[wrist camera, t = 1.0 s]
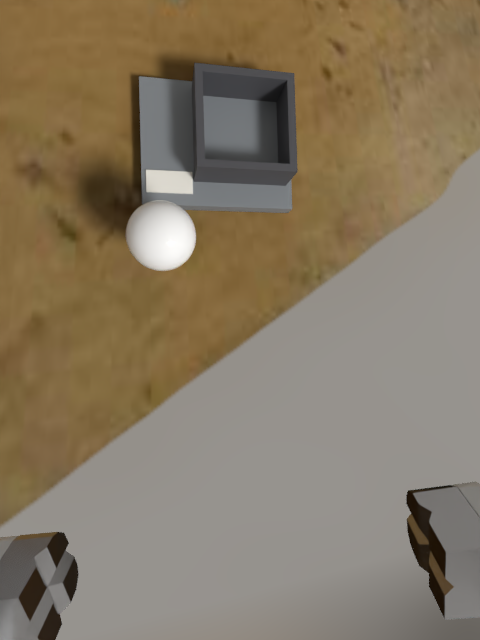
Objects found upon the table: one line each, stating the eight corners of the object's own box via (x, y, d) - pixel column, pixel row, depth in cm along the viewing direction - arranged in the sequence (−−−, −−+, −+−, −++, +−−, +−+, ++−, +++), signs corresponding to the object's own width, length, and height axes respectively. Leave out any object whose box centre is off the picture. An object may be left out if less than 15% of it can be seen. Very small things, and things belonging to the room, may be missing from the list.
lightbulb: (135, 221, 42) (125, 184, 31) (192, 229, 43) (201, 195, 33) (130, 277, 42) (118, 259, 31) (188, 283, 43) (195, 268, 32)
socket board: (142, 208, 42) (139, 190, 37) (139, 84, 43) (136, 49, 37) (287, 212, 46) (304, 197, 40) (284, 98, 46) (300, 67, 41)
